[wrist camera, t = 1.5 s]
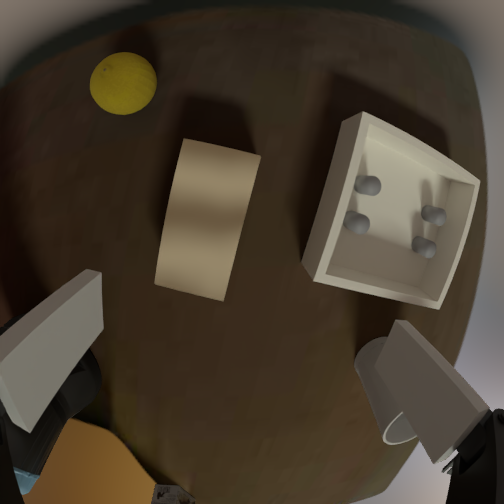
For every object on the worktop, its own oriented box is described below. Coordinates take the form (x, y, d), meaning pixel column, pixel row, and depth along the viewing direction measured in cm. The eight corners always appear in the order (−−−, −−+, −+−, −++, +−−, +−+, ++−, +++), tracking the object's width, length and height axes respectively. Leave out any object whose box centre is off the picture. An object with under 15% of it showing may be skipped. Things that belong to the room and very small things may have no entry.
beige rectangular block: (226, 279, 27) (223, 301, 23) (168, 265, 27) (154, 283, 22) (257, 160, 24) (261, 155, 20) (194, 145, 24) (183, 138, 19)
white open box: (300, 262, 27) (313, 280, 22) (342, 121, 23) (363, 111, 18) (416, 292, 29) (438, 309, 24) (452, 178, 25) (480, 181, 20)
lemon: (140, 131, 23) (102, 116, 15) (105, 104, 22) (63, 85, 14) (177, 87, 22) (153, 56, 14) (140, 62, 21) (108, 29, 13)
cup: (363, 328, 29) (410, 394, 18) (411, 333, 30) (461, 388, 19) (338, 379, 31) (369, 448, 20) (385, 379, 32) (422, 438, 21)
